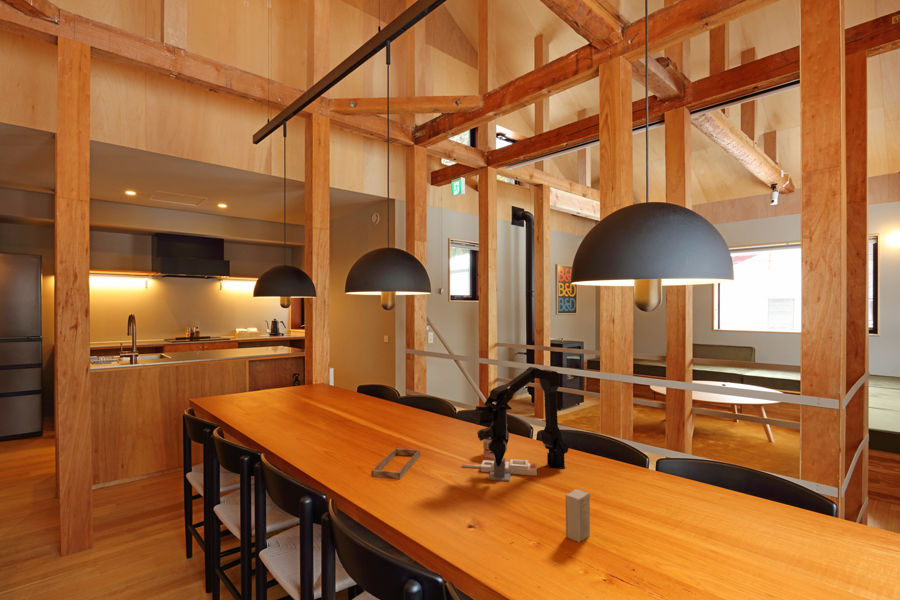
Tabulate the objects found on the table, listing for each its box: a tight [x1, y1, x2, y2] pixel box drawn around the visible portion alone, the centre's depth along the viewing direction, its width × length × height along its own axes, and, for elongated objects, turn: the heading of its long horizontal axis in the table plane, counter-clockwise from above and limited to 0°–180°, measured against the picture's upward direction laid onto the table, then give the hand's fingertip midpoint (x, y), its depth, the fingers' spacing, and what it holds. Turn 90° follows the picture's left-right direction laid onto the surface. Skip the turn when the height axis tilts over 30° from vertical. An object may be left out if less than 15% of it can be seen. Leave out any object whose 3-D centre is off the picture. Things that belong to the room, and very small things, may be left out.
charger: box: [493, 457, 506, 477], centre depth 171 cm, size 4×4×6 cm
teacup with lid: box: [482, 437, 508, 459], centre depth 195 cm, size 12×9×12 cm
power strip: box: [461, 457, 538, 476], centre depth 179 cm, size 30×8×4 cm, turn 78°
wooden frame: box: [370, 447, 421, 480], centre depth 183 cm, size 12×29×2 cm, turn 168°
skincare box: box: [565, 488, 591, 543], centre depth 125 cm, size 6×4×12 cm
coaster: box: [487, 471, 512, 482], centre depth 171 cm, size 8×8×1 cm
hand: (499, 462), depth 171 cm, fingers open, 9 cm apart
